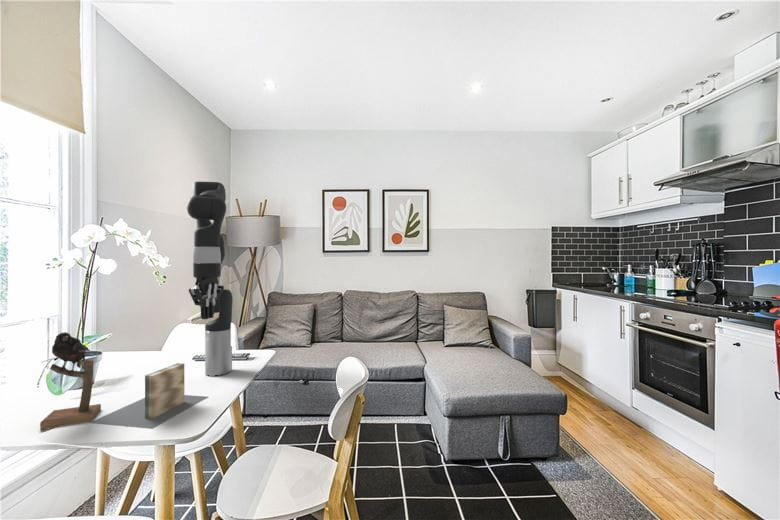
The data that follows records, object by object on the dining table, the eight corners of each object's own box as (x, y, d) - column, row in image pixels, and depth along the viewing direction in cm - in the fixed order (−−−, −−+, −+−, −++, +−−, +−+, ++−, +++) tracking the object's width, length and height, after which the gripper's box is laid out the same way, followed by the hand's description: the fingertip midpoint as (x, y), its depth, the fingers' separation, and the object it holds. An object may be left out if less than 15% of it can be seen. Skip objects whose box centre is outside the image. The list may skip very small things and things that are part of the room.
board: (177, 401, 111) (177, 363, 111) (184, 401, 110) (184, 363, 110) (145, 418, 99) (145, 375, 99) (152, 418, 98) (152, 375, 98)
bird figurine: (107, 403, 110) (107, 323, 110) (91, 422, 97) (91, 331, 97) (62, 409, 106) (62, 326, 106) (40, 430, 93) (40, 335, 93)
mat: (155, 394, 118) (155, 392, 118) (208, 397, 114) (208, 396, 114) (88, 424, 96) (88, 422, 96) (152, 430, 93) (152, 428, 93)
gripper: (211, 261, 115) (211, 314, 115) (179, 262, 102) (179, 321, 102) (232, 261, 114) (232, 315, 114) (202, 262, 100) (202, 322, 100)
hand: (207, 318), depth 108 cm, fingers closed
